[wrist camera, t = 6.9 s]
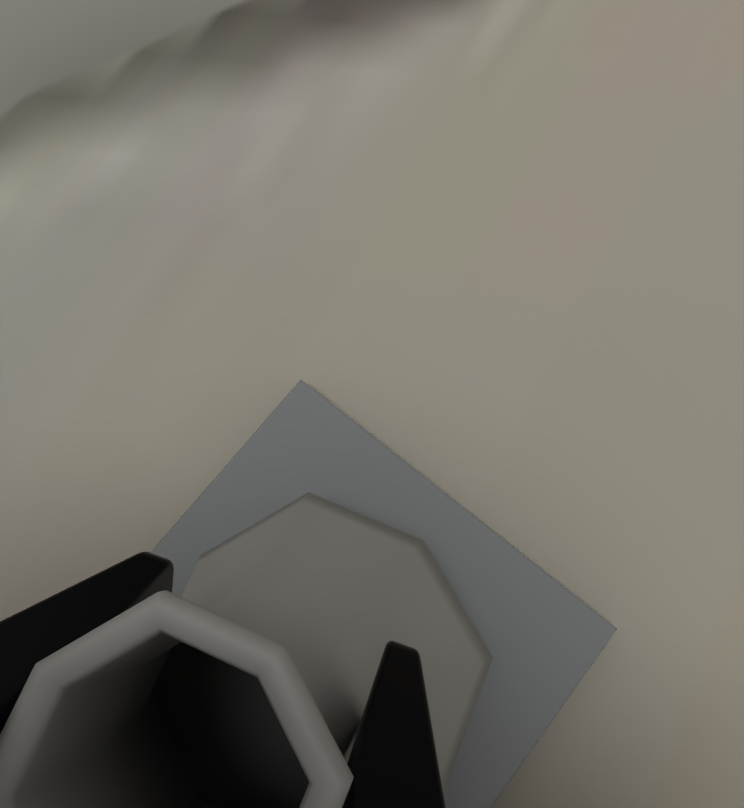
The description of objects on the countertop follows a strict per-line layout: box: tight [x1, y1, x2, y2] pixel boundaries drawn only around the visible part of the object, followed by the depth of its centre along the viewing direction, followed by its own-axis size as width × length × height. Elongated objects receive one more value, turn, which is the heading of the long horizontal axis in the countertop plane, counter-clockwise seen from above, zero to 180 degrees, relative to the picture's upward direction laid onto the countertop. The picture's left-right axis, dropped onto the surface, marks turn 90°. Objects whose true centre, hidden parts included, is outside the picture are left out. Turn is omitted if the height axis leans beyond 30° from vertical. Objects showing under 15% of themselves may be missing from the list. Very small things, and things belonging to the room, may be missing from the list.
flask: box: [0, 492, 493, 808], centre depth 11 cm, size 7×7×10 cm
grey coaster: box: [151, 380, 617, 808], centre depth 17 cm, size 10×10×1 cm
